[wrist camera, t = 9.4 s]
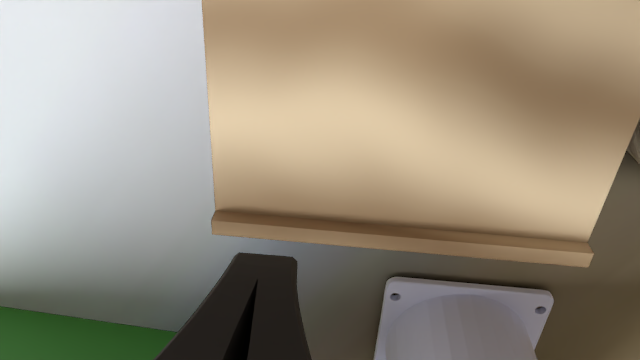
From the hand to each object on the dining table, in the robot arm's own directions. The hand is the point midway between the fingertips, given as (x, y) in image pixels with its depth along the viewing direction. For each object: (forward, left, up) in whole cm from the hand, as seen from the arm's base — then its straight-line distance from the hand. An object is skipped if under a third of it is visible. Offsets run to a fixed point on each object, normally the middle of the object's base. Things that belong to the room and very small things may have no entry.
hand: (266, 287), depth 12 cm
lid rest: (+4, -4, -10) cm, 12 cm away
